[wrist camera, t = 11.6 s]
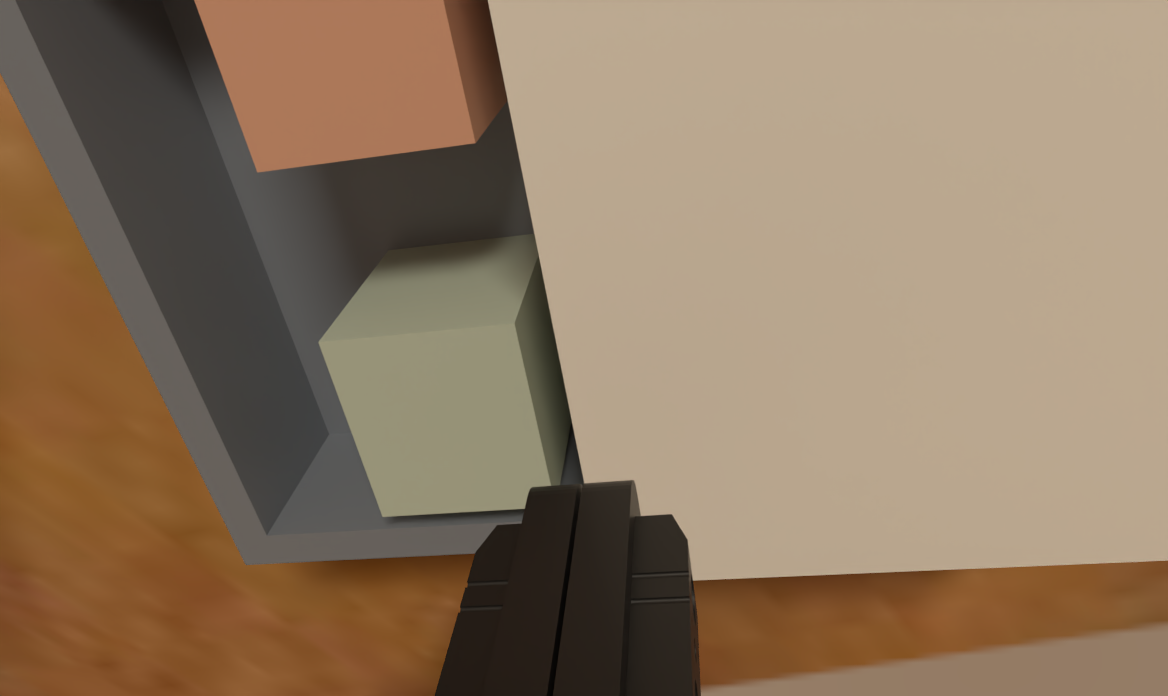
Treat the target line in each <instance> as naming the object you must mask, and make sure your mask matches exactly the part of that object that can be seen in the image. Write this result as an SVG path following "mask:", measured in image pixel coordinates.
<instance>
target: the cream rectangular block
mask: <svg viewBox="0 0 1168 696" xmlns="http://www.w3.org/2000/svg"><path fill="white" fill-rule="evenodd" d="M488 4H489V9H490V14H491V19H492V24H493V29H494V34H495V39H496V44H497V49H498V54H499V59H500V64H501V69H502V74H503V79H504V84H505V89H506V94H507V99H508V104H509V109H510V114H511V119H512V124H513V129H514V134H515V139H516V144H517V149H518V154H519V159H520V164H521V169H522V174H523V179H524V184H525V189H526V194H527V199H528V204H529V209H530V214H531V219H532V224H533V229H534V234H535V239H536V244H537V249H538V254H539V259H540V264H541V269H542V274H543V279H544V284H545V289H546V294H547V299H548V304H549V309H550V314H551V319H552V324H553V329H554V334H555V339H556V344H557V349H558V354H559V359H560V364H561V369H562V374H563V379H564V384H565V389H566V394H567V399H568V404H569V409H570V414H571V419H572V424H573V429H574V434H575V439H576V444H577V449H578V454H579V459H580V464H581V469H582V474H583V479H584V483H596V482H611V481H625V480H634V482H635V485H636V490H637V495H638V502H639V508H640V514H641V516H650V515H666V514H672V515H673V517H674V519H675V520H676V522H677V523H678V525H679V527H680V528H681V530H682V531H683V533H684V535H685V536H686V538H687V540H688V547H689V555H690V562H691V570H692V578H693V581H694V580H717V579H741V578H765V577H788V576H812V575H835V574H859V573H882V572H906V571H930V570H953V569H977V568H1000V567H1024V566H1048V565H1071V564H1095V563H1118V562H1142V561H1166V560H1168V0H488Z"/></svg>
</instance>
